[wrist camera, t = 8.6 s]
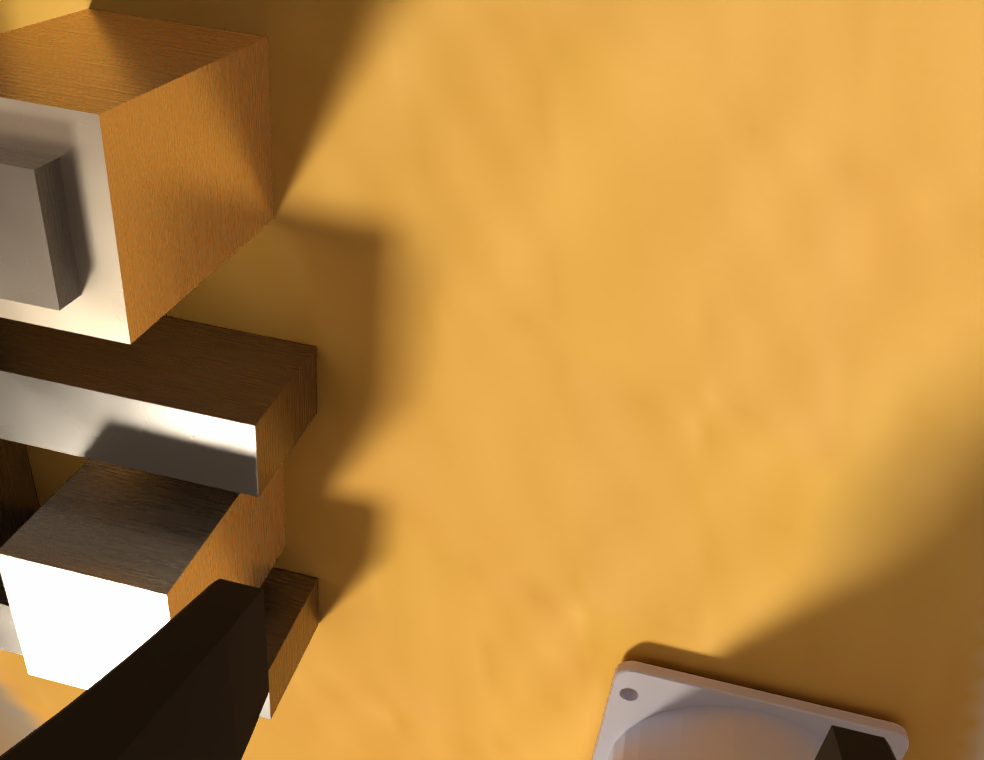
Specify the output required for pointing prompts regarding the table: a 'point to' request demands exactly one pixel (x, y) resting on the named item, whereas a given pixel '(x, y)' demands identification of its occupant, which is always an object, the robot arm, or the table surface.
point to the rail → (162, 432)
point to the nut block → (126, 166)
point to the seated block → (128, 562)
